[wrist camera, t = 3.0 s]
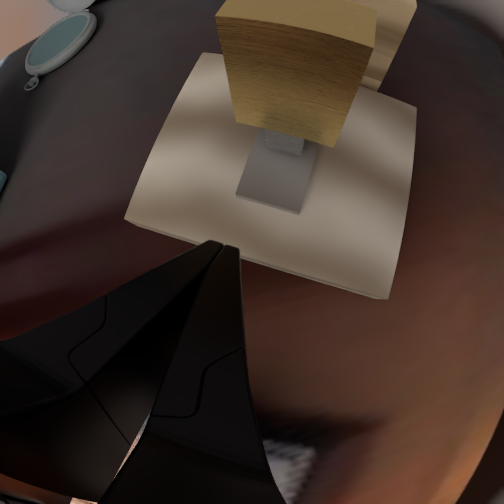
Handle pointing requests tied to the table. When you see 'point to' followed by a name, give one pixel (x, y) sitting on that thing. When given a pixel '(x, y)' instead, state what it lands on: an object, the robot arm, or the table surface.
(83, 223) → the table surface
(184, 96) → the door and jamb
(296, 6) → the bolt
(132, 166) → the table surface
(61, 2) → the pocket watch
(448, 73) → the table surface
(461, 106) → the table surface
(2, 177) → the data package
